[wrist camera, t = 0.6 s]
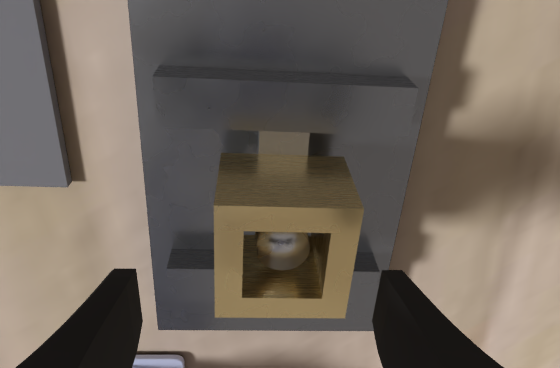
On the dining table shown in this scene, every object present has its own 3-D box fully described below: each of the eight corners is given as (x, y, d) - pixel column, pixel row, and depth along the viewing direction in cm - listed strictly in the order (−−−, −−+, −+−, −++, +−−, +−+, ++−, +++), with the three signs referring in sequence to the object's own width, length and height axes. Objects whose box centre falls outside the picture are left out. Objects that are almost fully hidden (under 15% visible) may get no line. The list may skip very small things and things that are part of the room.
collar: (330, 254, 22) (344, 318, 18) (221, 252, 21) (214, 317, 18) (344, 156, 19) (364, 209, 16) (220, 152, 19) (213, 205, 15)
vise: (367, 305, 28) (396, 402, 22) (164, 303, 27) (140, 404, 21) (447, -90, 18) (536, -96, 12) (130, -113, 17) (70, -130, 11)
